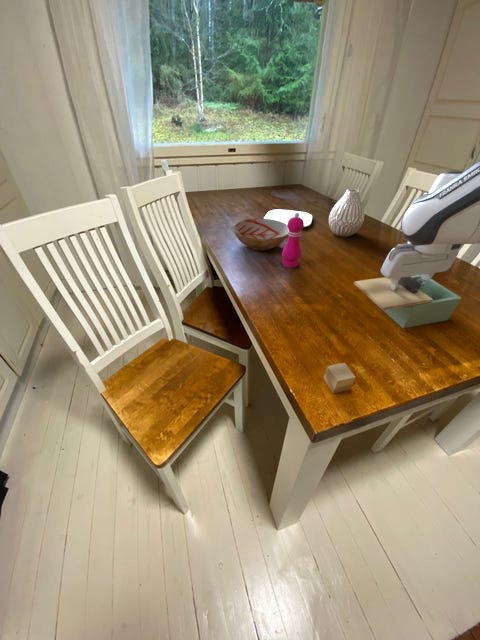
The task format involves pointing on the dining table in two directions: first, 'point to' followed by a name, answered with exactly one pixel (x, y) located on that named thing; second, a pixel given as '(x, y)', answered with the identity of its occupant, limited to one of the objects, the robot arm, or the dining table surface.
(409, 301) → the lid
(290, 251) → the pepper mill
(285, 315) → the dining table surface
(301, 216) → the plate
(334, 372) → the block
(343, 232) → the vase
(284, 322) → the dining table surface
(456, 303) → the box
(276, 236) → the bowl
